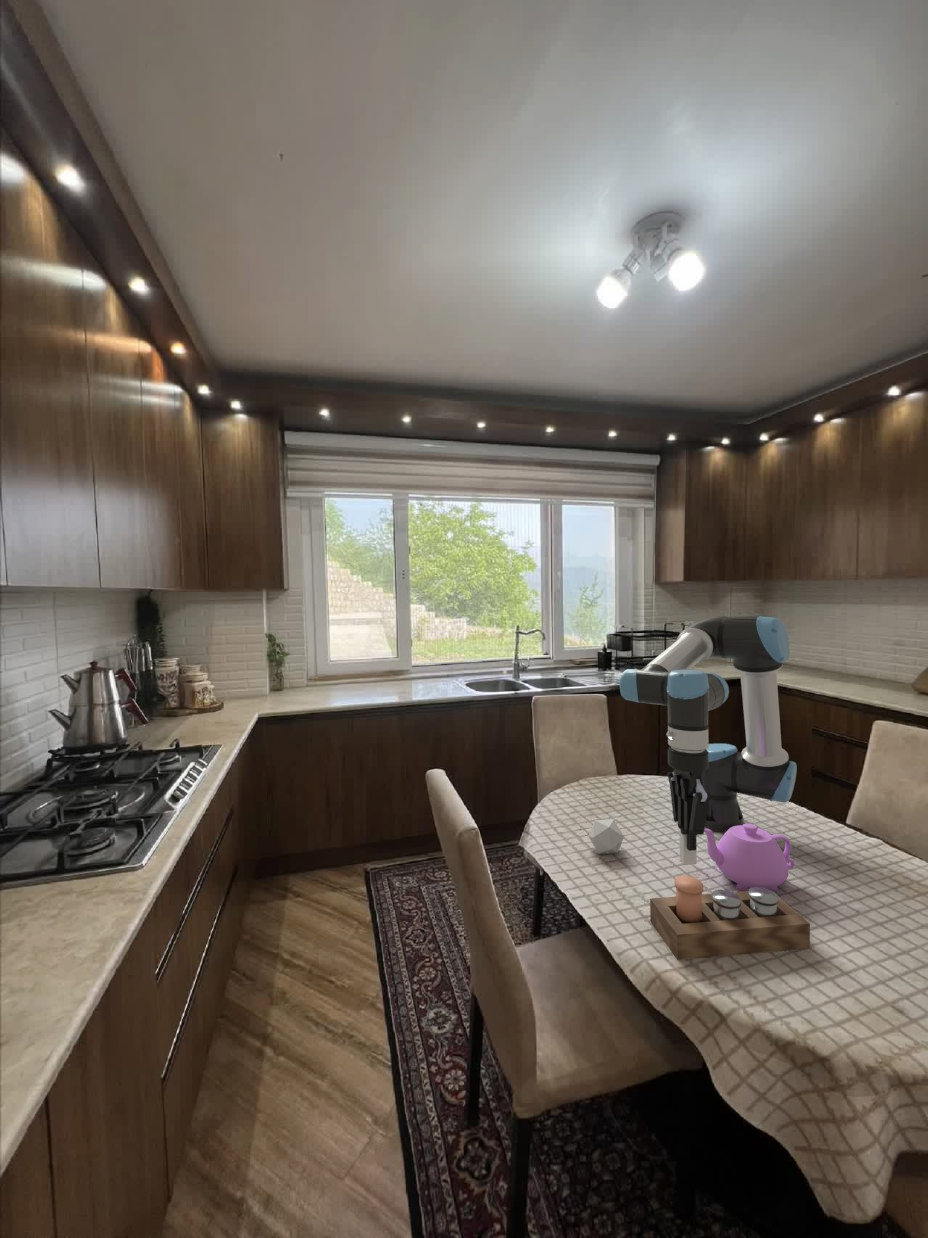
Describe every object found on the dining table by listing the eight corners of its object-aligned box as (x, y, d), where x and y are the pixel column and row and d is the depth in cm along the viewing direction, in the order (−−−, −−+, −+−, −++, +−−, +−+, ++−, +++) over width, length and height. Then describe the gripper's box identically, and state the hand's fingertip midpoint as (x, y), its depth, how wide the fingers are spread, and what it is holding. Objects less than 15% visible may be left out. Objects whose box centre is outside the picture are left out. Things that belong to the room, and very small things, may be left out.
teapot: (712, 899, 120) (712, 840, 119) (688, 864, 135) (687, 812, 135) (812, 900, 118) (812, 841, 118) (776, 864, 134) (776, 812, 133)
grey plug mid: (731, 920, 111) (731, 888, 110) (747, 936, 105) (747, 903, 105) (706, 922, 110) (706, 890, 110) (721, 939, 105) (721, 906, 104)
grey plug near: (767, 917, 111) (767, 886, 111) (784, 933, 106) (784, 900, 105) (742, 919, 111) (742, 887, 110) (759, 935, 105) (759, 902, 105)
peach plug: (694, 906, 110) (694, 875, 109) (708, 922, 104) (708, 889, 104) (670, 908, 109) (669, 876, 109) (682, 924, 104) (682, 891, 104)
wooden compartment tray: (769, 911, 115) (769, 889, 114) (809, 948, 103) (809, 923, 103) (650, 921, 113) (650, 898, 112) (677, 960, 101) (677, 934, 100)
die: (617, 864, 137) (633, 829, 140) (586, 846, 139) (602, 811, 141) (609, 860, 145) (623, 827, 148) (580, 843, 147) (595, 810, 149)
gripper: (655, 739, 111) (655, 848, 112) (686, 758, 98) (686, 881, 99) (689, 738, 112) (689, 846, 113) (724, 756, 99) (724, 878, 100)
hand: (688, 862), depth 106 cm, fingers closed
